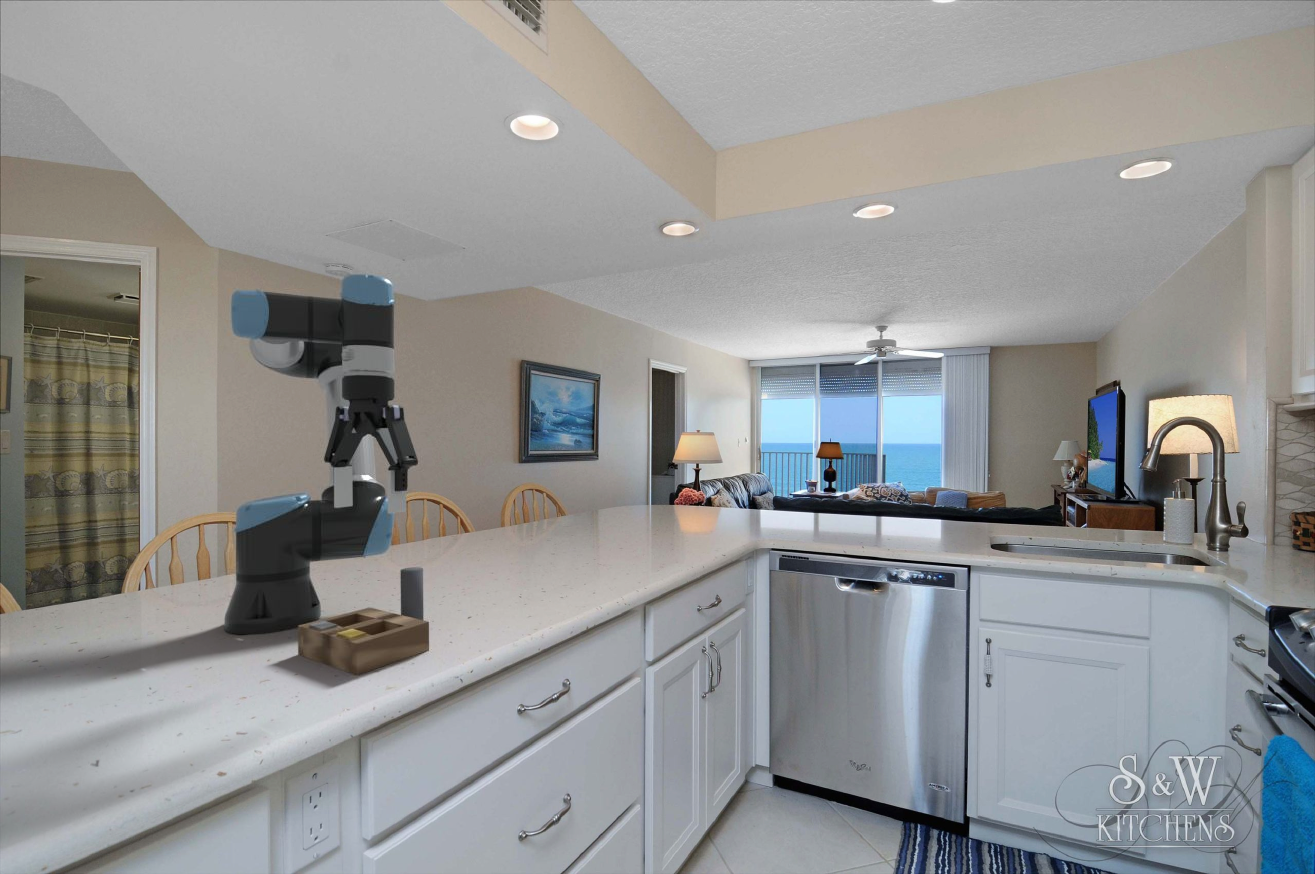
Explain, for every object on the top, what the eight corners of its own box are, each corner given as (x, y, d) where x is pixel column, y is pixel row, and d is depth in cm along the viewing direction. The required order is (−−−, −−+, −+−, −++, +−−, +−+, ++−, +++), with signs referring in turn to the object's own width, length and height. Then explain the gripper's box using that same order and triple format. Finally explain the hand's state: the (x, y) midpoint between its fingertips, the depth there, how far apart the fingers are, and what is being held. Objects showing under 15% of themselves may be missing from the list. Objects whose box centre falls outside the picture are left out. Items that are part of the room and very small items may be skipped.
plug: (396, 625, 110) (395, 570, 110) (414, 620, 113) (414, 566, 113) (409, 629, 108) (409, 572, 108) (427, 623, 111) (427, 568, 111)
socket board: (298, 654, 96) (297, 623, 96) (369, 633, 106) (369, 605, 106) (357, 675, 87) (357, 640, 87) (429, 650, 97) (428, 619, 97)
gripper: (299, 377, 100) (300, 507, 100) (399, 369, 87) (399, 518, 88) (343, 380, 106) (344, 502, 107) (441, 373, 94) (442, 512, 94)
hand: (369, 509), depth 97 cm, fingers open, 13 cm apart
